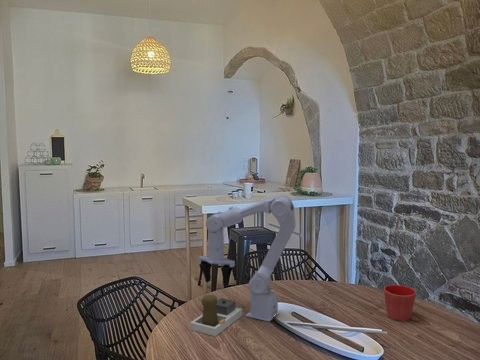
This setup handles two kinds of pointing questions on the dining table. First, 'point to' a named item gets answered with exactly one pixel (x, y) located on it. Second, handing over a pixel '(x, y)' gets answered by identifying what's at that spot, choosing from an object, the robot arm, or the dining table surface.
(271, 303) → the robot arm
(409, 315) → the flower pot
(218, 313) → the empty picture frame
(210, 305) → the brown pear
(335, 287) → the dining table surface
